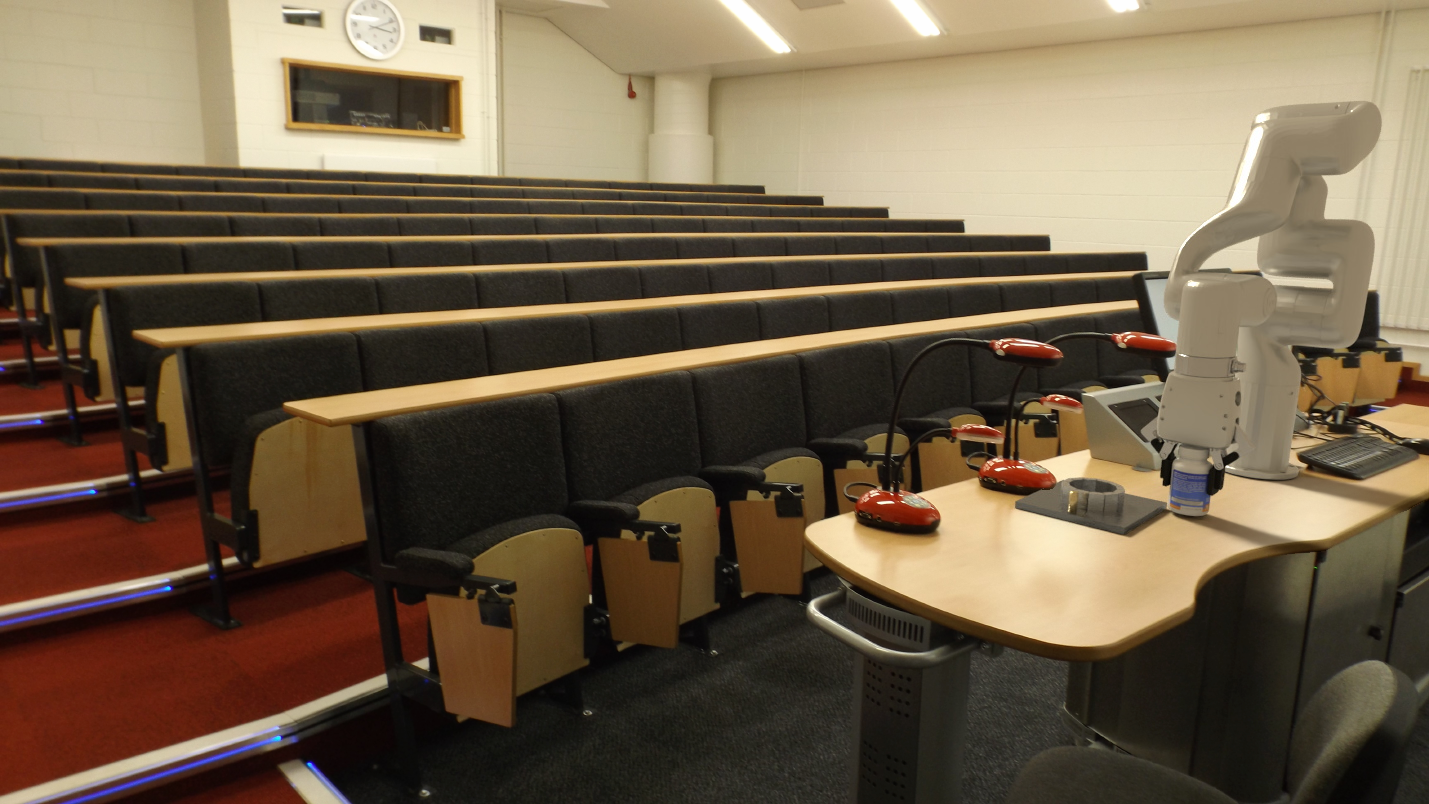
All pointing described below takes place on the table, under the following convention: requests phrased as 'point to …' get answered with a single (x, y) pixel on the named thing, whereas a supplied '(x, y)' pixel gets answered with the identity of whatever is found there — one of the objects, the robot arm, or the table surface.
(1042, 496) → the flange base
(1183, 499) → the pill bottle
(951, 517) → the table surface
